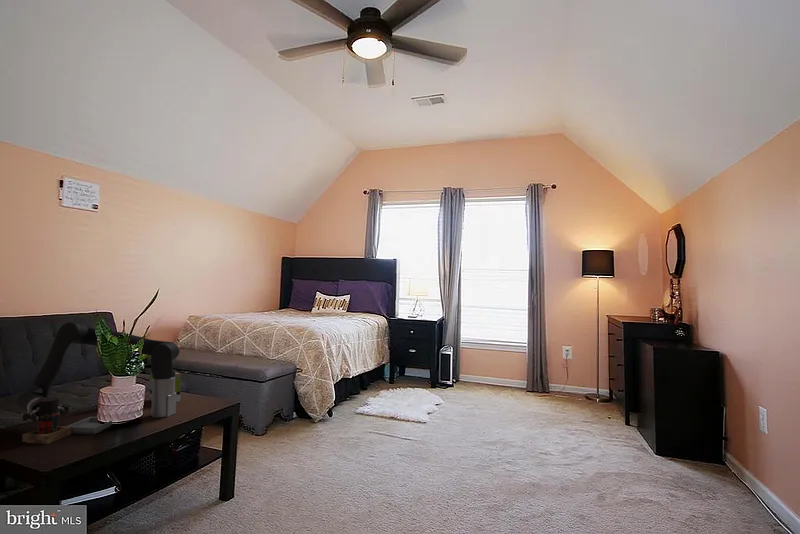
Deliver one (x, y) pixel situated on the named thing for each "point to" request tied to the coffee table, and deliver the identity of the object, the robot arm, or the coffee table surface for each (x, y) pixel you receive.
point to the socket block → (46, 435)
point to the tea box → (177, 385)
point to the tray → (89, 426)
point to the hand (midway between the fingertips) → (49, 416)
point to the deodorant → (48, 415)
